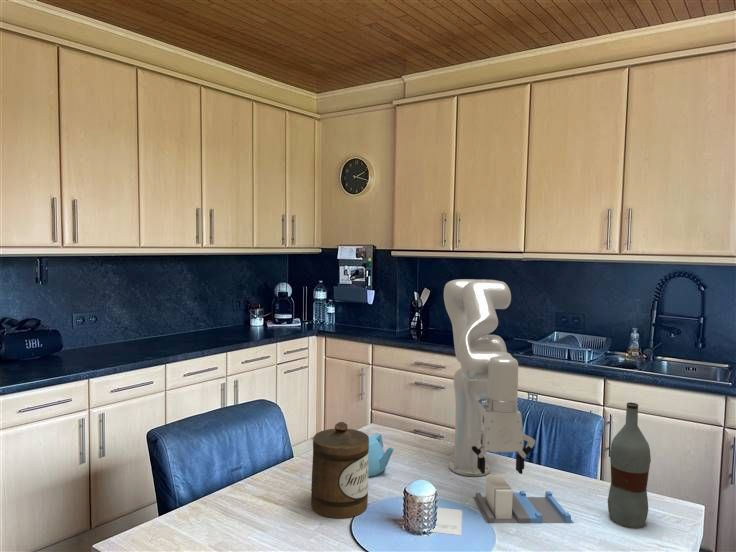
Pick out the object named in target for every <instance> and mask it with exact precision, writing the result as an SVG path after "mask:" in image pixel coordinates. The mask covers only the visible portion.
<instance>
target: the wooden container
mask: <svg viewBox="0 0 736 552" xmlns="http://www.w3.org/2000/svg"><path fill="white" fill-rule="evenodd" d="M348 427H349V425H348V424H347V423H346V422H343V421H339V422H337V423H336V424H335V425H334V428H329V429H323V430H321V431H319V432H317V433H315V434H314V436H313V442H312V467H311V468H312V469H311V471H312V472H311V494H310V495H311V496H310V497H311V499H310V505H311V508H312V510H313V511H314V512H315V513H316V514H318V515H320V516H322V517H326V518H331V519H349V518H353V517H356V516H358V515H361V514H363V513H364V512H365V511H366V510H367V508H368V500H369V499H368V498H369V477H368V474H369V473H368V462H369V437H370V436H369V437H368V435H369V434H368V435H367V433H366V432H363V431H360V430H357V429H354V428H353V429H352V428H348Z"/></svg>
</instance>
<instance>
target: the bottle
mask: <svg viewBox="0 0 736 552" xmlns="http://www.w3.org/2000/svg"><path fill="white" fill-rule="evenodd" d="M638 420H639V403H636V402H630V401H629V402H626V414H625V424H624V425H623V426H622V428H621V429H620V430H619V431H618V432H617V434H616V435H615V436H614V437H613V439H612V441H611V444H610V445H611V446H610V448H609V449H610V450H609V457H610V459H609V460H610V461H609V462H610V481H611V482H610V486H609V491H608V497H607V509H608V510H607V511H608V515H609V519H610V520H611V522H613V523H615V524H616V525H619V526H621V527H625V528H630V529H640V528H643V527H645V524H646V521H647V520H648V514H649V501H648V493H647V492H648V491H647V490H648V489H647V488H648V481H649V475H650V473H649V472H650V469H651V462H652V457H651V456H652V455H651V449H650V445H649V443H648V441H647V439H646V437H645V436H644V434H643V432H642V431H641V429H640V427H639V426H638V423H639V421H638Z"/></svg>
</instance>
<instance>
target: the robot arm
mask: <svg viewBox="0 0 736 552" xmlns="http://www.w3.org/2000/svg"><path fill="white" fill-rule="evenodd" d="M511 293H512V292H511V289H510V288H509V286H508V284H507V283H506V282H504V281H501V280H496V279H473V278H471V279H469V278H467V279H466V278H464V279H463V278H462V279H453V280H450V281H447V282H446V284H445V285H444V288H443V300H444V301H443V302H444V306H445V310H446V313H447V314H448V317H449V319H450V322H451V325H452V334H453V335H452V336H453V345H454V354H455V357H456V360H457V362H458V363H460V366H461V368H459V369H457V370H456V371H455V373H454V375H453V389H454V397H455V398H454V399H455V418H454V419H455V420H454V451H453V459H451V460H450V461H449V462H448V468H449V470H451V471H452V472H453V473H456V474H458V475H461V476H465V477H482V476H486V475H489V473H490V472H491V465H490V464H489V463H487V462H486V456H487V455H486V454H487V453H489V452H490V453H517V454H516V455H515V470H516V472H517V473H518V474H520V475H522V474H523V470H524V469H525V459H526V458H527V455H528V454H530V453H531V451H532V450H533V447H534V446H535V444H536V440H535V439H534V438H533V437H531V436H529V435H527V434H525V433H524V430H523V429H524V428H523V420H522V413H521V411H519V410H518V399H519V397H518V390H519V388H518V386H519V362H518V360H517V359H516V358H514V357H513V355H512V354H511V353H509V352H508V350H507V346H506V343H505V341H504V339H503V338H502V337H501V336H499V335H496V334H491V333H493V332H494V331H495V330H496V329H497V327H498V325H499V319H498V315H497V312H496V310H497V309H498V310H506V309H507V308H509V306H510V304H511V301H512V294H511ZM480 400H481V402H480ZM524 441H526V442H527V443H526V444H525V445H524Z"/></svg>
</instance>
